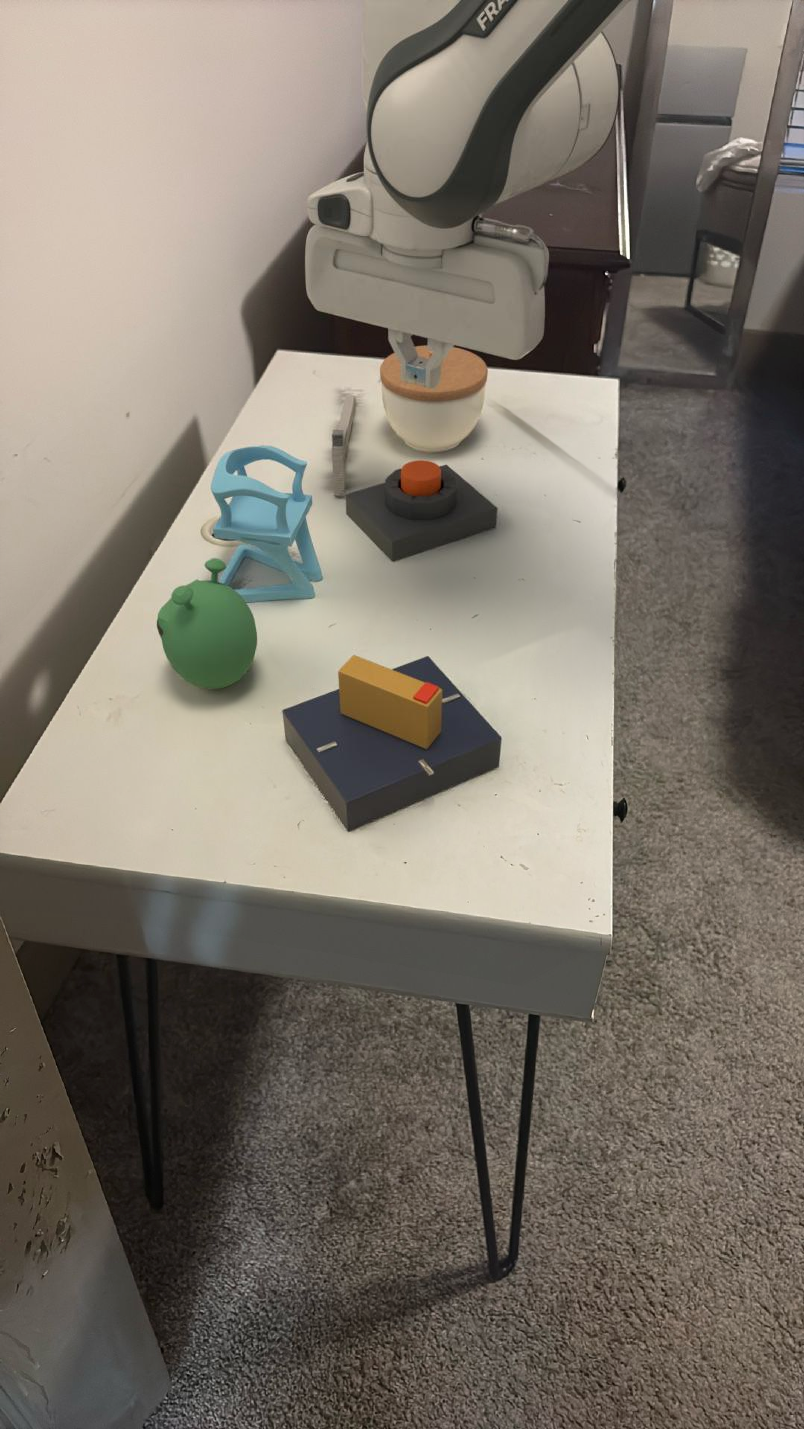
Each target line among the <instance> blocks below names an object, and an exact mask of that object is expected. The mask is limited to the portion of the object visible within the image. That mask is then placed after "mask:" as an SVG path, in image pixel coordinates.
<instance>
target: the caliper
mask: <svg viewBox="0 0 804 1429" xmlns="http://www.w3.org/2000/svg"><path fill="white" fill-rule="evenodd" d="M356 401H357V397H356V395H355V394H354V395H353V394H346V395H345V398H344V402H343V405H342V410H341V414H340V418H339V421H338V425H336V429H332V433H331V443H332V444H331V461H332V462H331V463H332V464H331V465H332V466H331V467H332V484H333V496H335V497H337V496H338V497H343V496H344V497H346V496H345V495H346V493H345V490H346V489H347V488H346V487H347V471H346V470H347V461H346V460H347V457H348V454H349V440H350V435H351V430H352V425H353V422H354V415H355V413H356V412H355V411H356Z"/></svg>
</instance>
